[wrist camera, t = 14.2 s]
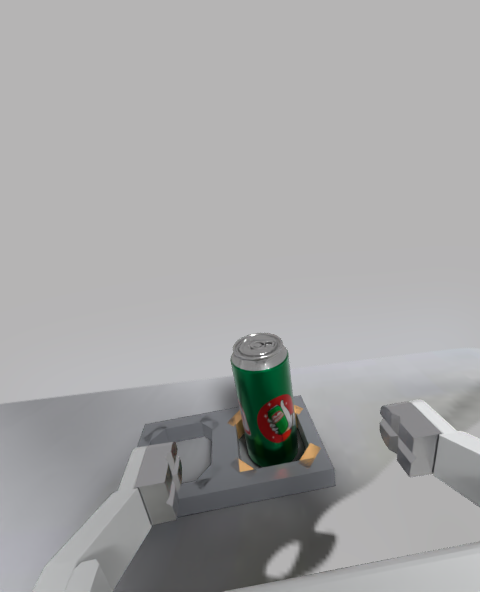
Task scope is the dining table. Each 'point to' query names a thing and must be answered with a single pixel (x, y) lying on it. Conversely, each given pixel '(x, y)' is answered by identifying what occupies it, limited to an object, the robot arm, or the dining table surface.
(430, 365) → the dining table surface
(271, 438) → the soda can
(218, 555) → the dining table surface
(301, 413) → the socket board
